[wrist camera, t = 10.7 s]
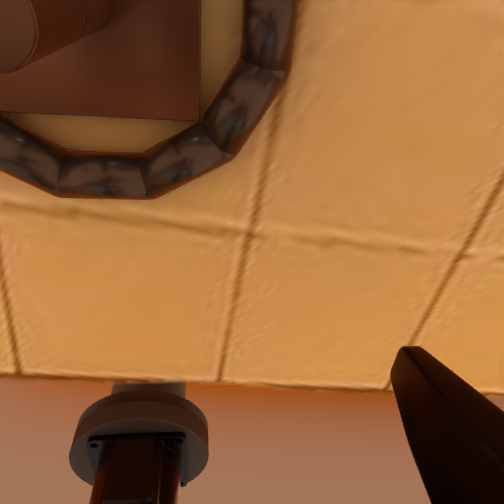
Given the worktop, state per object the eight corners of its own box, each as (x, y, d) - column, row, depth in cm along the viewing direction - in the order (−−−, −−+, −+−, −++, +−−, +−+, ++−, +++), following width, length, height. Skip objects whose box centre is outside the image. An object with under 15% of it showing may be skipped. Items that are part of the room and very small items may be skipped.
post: (200, 115, 18) (199, 214, 10) (1, 105, 17) (-163, 207, 9) (201, -137, 13) (203, -288, 6) (-69, -172, 12) (-493, -410, 5)
